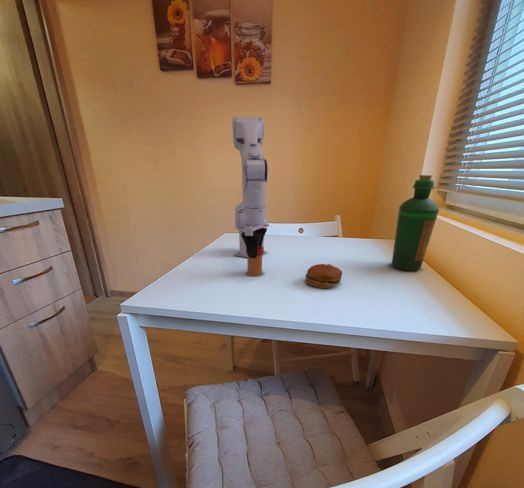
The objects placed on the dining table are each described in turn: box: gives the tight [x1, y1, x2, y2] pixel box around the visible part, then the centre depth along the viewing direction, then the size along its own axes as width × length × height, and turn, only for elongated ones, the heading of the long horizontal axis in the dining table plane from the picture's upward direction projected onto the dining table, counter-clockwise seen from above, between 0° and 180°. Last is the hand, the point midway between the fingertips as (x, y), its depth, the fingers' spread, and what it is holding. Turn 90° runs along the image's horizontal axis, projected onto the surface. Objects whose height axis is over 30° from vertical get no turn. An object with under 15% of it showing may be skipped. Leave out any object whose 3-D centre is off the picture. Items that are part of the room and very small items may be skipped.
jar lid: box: [246, 246, 265, 256], centre depth 81 cm, size 5×5×2 cm
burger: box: [305, 263, 343, 289], centre depth 77 cm, size 10×9×5 cm
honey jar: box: [246, 255, 263, 277], centre depth 82 cm, size 4×4×8 cm
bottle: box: [391, 174, 440, 272], centre depth 85 cm, size 11×11×28 cm
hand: (254, 255), depth 82 cm, fingers closed on jar lid, 5 cm apart
